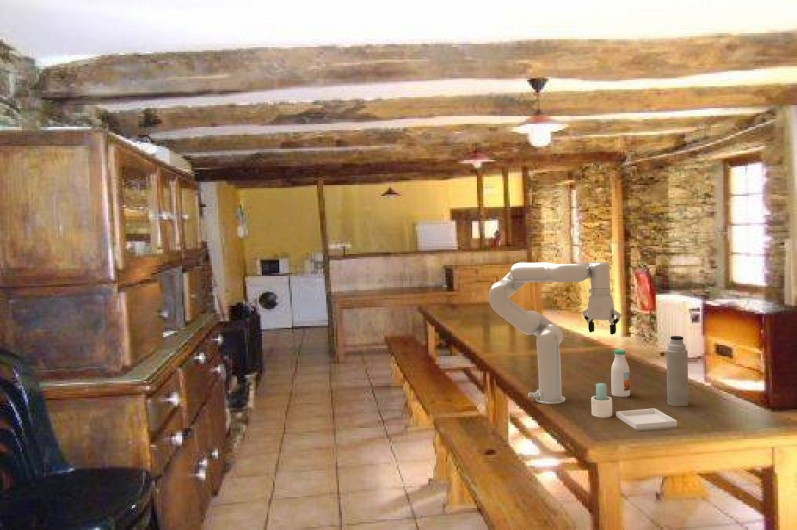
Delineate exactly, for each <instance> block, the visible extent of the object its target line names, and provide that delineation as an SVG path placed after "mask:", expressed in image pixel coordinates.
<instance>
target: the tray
mask: <svg viewBox="0 0 797 530" xmlns="http://www.w3.org/2000/svg"><path fill="white" fill-rule="evenodd" d="M615 417H616V418H618V419H620V420H621V421H623V422H624V423H625V424H627V425H628V426H630V427H631V428H632V429H633V430H636V431H635V432H638V431H637V430H642V431H650V430H651V431H653V429H654V430H662V429H673V428H678V421H677V420H676V419H675V418H673V417H671V416H669V415H667V414H665V412H662V411H660V410H659V409H657V408H643V409H632V410H630V409H629V410H622V411H621V410H619V411H615Z"/></svg>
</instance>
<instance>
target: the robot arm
mask: <svg viewBox="0 0 797 530" xmlns="http://www.w3.org/2000/svg"><path fill="white" fill-rule="evenodd" d="M588 279H590V288H589V289H588V292H589V293H590V294H591V295H590V294H589V296H588V302H587V309H586V310H584V311H582V316H583V318H584V319H585V321H586V323H587V324H588V325H587V326H588V329H587V330H588V333H594V332H595V322H594V320H596V321H597V320H598V321H608V322H609V323H610V325H609V334H610V335H612V336H613V335H615V334H616V332H617V324H618V323H619V321H620V320H621V318H622V316H623V315H622V313H620V312H619V311H617V310H616V309H615V306H614V305H615V304H614V299H613V296H612V295H611V274H610V264H609V263H608V262H605V261H595V262H588V261H578V262H576V263H561V264H559V263H553V262H549V261H540V262H539V261H538V262H537V261H536V262H527V261H518V262H517V263H514V264H513V265H512V266H511V267H510V270H509V272H508V273H507V274H506V275H504V277H503V278H502V279H500V280H499V281H496V282H494V283H493V284H491V287H490V289H489V291H488V301H489V305H490V307H491V309H492V310H493V311H494V312H495V313H496V314H497V315H499V316H500V317H501V318H502V319H504V320H506V321H507V323H509V324H510V325H511V326H513V327H514V328H516V329H517V330H518V331H520V333H522V334H524V335H527V336H530V335H534V336H535V337H536V339H535V341H536V343H535V344H536V353H537V371H538V374H537V375H538V389H536V391H535V392H528V393H527V396H528V397H527V398H533V399H534V398H535V402H537V403H539V404H542V405H543V404H545V405H546V404H548V405H555V404H561V403H565V402H566V397H565V396H563V395H562V363H561V362H562V361H561V349H560V344H561V343H562V341H563V340H564V333H563V330H562V329H561V328H560V327H559V326H558V325H557V324H556V323H554V322H553V321H552V320H550V319H549V318H547V317H546V316H544V315H543V314H542V313H540V312H538V311H536V310H526V309H524V308H523V307H522V306H520V305H519V304H517V303H515V302H514V301H512V300H511V299H510V298H511V297H512V296H513V295H514V294H516V292H518V291H519V290H520V289H521V288H522V287H523V286H524V285H525V284H526V283H579V282H583V281H585V280H588ZM615 316H616V317H615Z"/></svg>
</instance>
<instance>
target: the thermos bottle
mask: <svg viewBox="0 0 797 530" xmlns="http://www.w3.org/2000/svg"><path fill="white" fill-rule="evenodd" d="M688 359H689V356H688V350H687V346H686V344H685V343H684V336H681V335H673V336H670V343H669V344H668V345H667V349H666V393H667V394H666V395H667V397H666V398H667V402H666V403H667V404H668V405H670V406H673V407H686V406H689V363H688V362H689V361H688Z"/></svg>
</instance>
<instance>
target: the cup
mask: <svg viewBox="0 0 797 530" xmlns="http://www.w3.org/2000/svg"><path fill="white" fill-rule="evenodd" d="M590 402H591V403H590V408H591V416H594V417H596V418H610V417H612V416H613V398H612V397H610V396H608V395H607V400H604V401H601V400H596V395H593V396H591V398H590Z"/></svg>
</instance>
